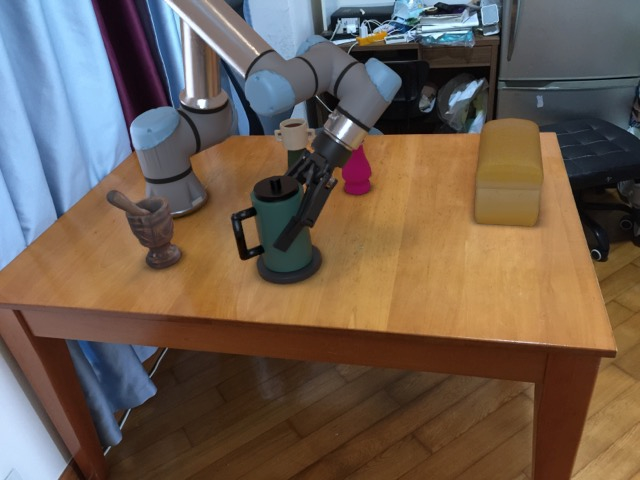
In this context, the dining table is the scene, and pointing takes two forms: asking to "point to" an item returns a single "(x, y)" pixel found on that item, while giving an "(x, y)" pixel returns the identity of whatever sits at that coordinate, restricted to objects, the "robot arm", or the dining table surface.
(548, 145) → the dining table surface
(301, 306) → the dining table surface
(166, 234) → the mortar and pestle
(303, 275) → the kettle base
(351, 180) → the pepper mill
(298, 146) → the character mug
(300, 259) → the kettle
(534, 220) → the bread
